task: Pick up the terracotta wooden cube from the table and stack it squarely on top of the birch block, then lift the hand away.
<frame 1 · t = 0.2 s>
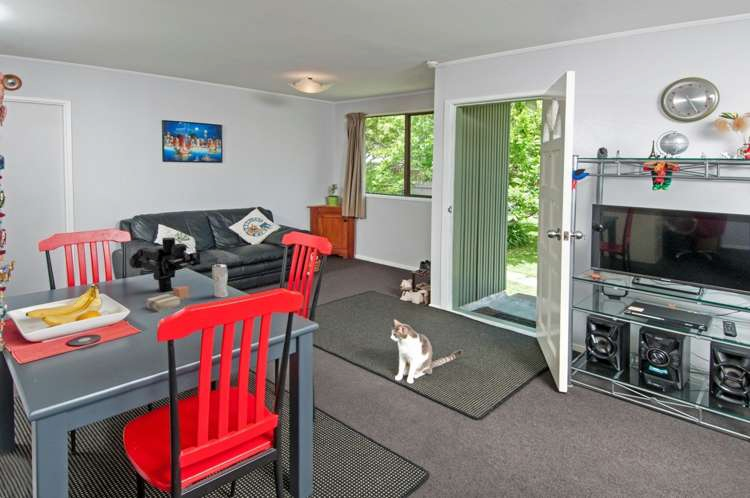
hand: (191, 265, 223), 16 cm above the table, tool horizontal, fingers open, 9 cm apart
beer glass: (221, 296, 232), on the table
birch block: (163, 306, 215), on the table
terracotta cube: (181, 297, 229), on the table
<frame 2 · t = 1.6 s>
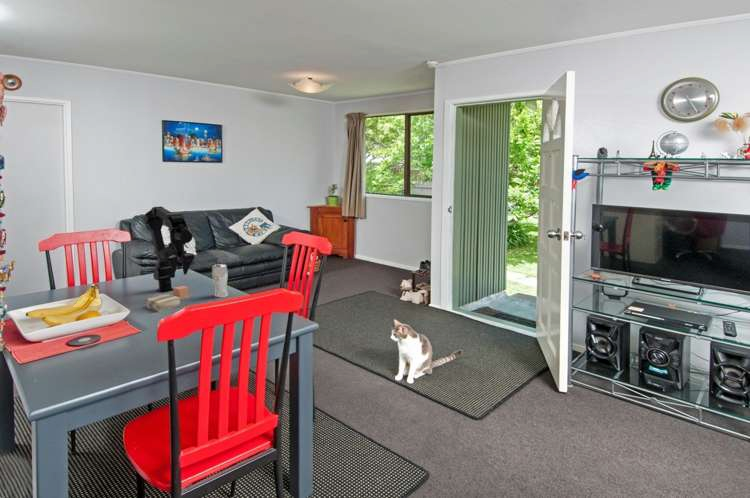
hand: (179, 273, 227), 12 cm above the table, tool pointing down, fingers open, 9 cm apart
nothing on the table moved.
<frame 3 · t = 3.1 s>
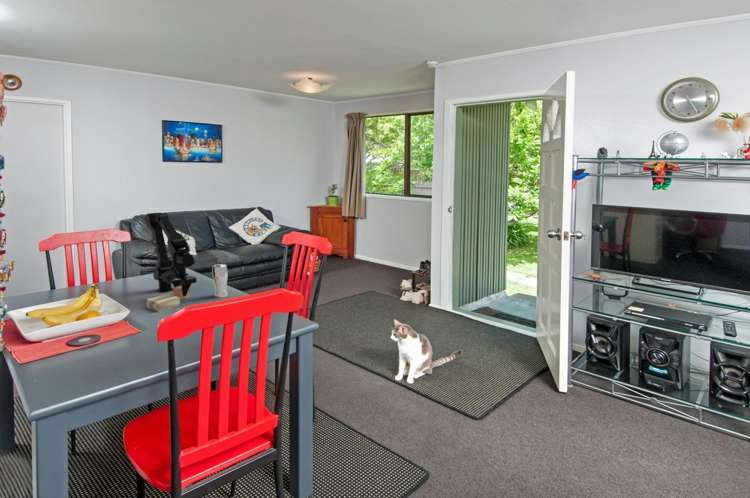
hand: (181, 295, 229), 1 cm above the table, tool pointing down, fingers closed on terracotta cube, 5 cm apart
terracotta cube: (181, 297, 229), on the table, touching gripper
everything else where it was.
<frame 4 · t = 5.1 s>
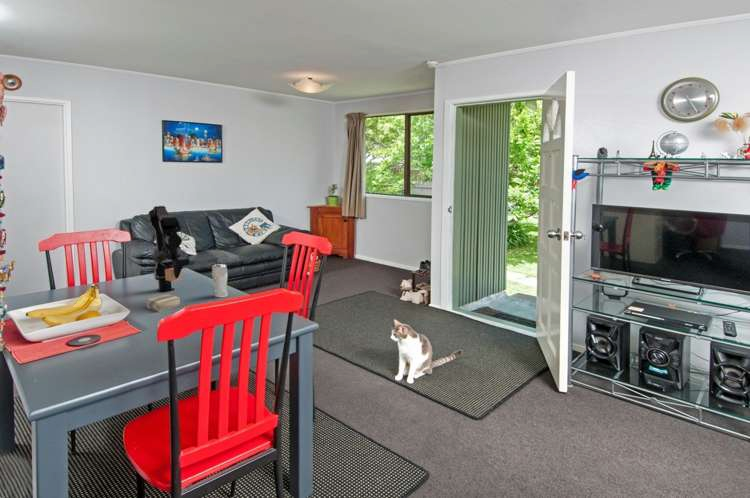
hand: (173, 277, 221), 11 cm above the table, tool pointing down, fingers closed on terracotta cube, 5 cm apart
terracotta cube: (173, 279, 221), point 10 cm above the table, touching gripper
everything else where it was.
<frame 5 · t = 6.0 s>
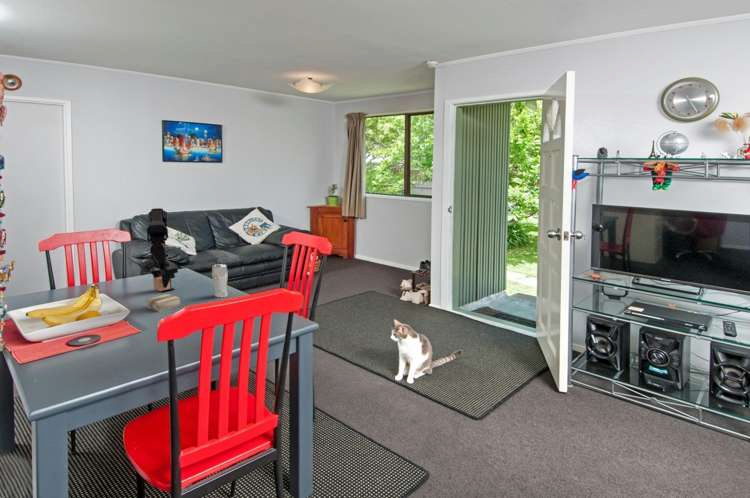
hand: (162, 286, 213), 9 cm above the table, tool pointing down, fingers closed on terracotta cube, 5 cm apart
terracotta cube: (162, 288, 213), point 8 cm above the table, touching gripper
everything else where it was.
when the fingers open (6 cm above the table, at t = 6.8 s): terracotta cube drops 1 cm, resting on birch block.
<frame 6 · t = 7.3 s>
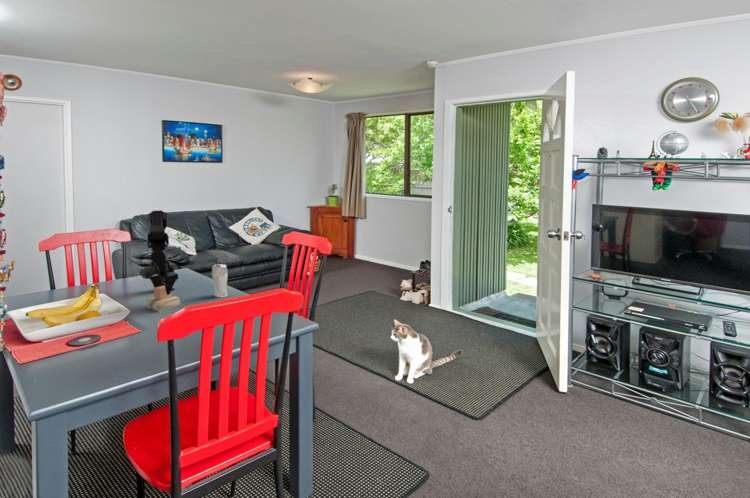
hand: (162, 292, 214), 6 cm above the table, tool pointing down, fingers open, 9 cm apart
terracotta cube: (163, 298, 214), point 4 cm above the table, touching birch block
everything else where it was.
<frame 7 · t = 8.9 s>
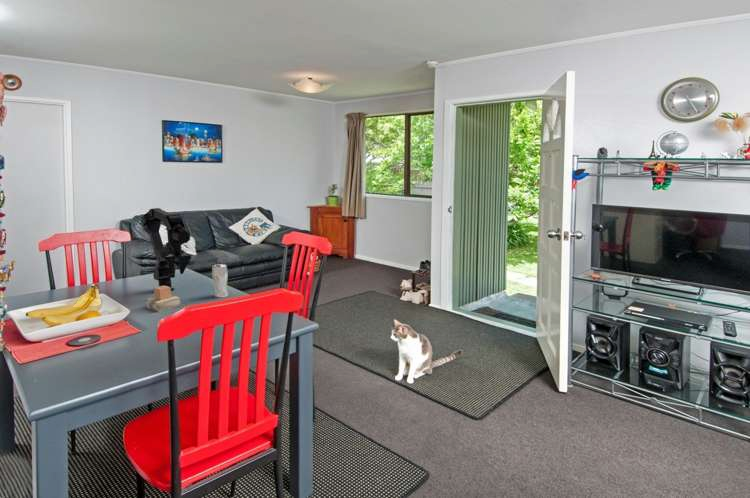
hand: (176, 272, 230), 12 cm above the table, tool pointing down, fingers open, 9 cm apart
nothing on the table moved.
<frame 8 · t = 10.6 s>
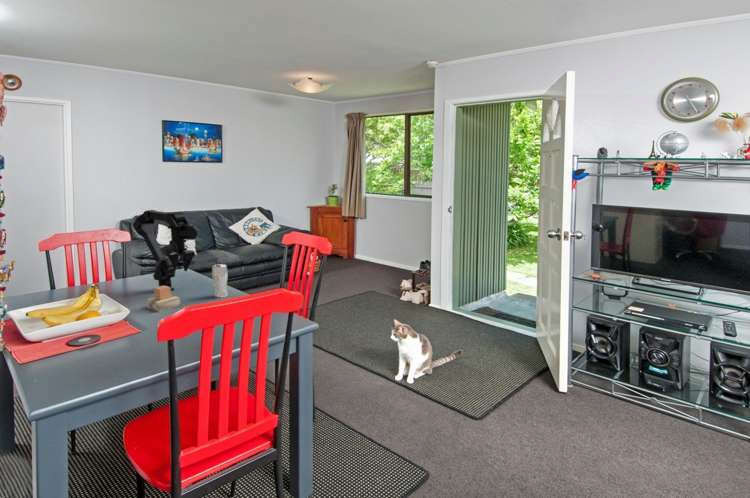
hand: (180, 269, 233), 12 cm above the table, tool pointing down, fingers open, 9 cm apart
nothing on the table moved.
at the end: terracotta cube 0.1 cm off-centre on the birch block, point 4.0 cm above the birch block's base; terracotta cube tilted 0°; the gripper is holding nothing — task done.
